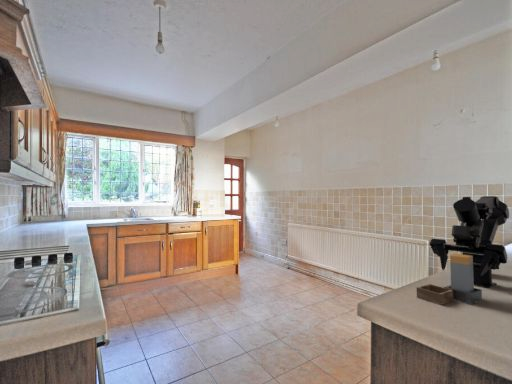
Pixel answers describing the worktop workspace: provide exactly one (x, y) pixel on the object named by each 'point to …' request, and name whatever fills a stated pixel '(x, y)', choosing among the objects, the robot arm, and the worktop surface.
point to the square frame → (435, 294)
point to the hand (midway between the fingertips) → (460, 272)
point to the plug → (462, 272)
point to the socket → (467, 295)
